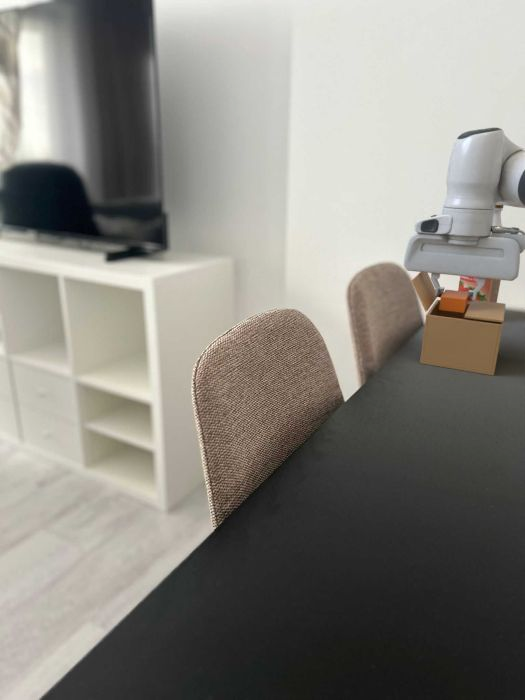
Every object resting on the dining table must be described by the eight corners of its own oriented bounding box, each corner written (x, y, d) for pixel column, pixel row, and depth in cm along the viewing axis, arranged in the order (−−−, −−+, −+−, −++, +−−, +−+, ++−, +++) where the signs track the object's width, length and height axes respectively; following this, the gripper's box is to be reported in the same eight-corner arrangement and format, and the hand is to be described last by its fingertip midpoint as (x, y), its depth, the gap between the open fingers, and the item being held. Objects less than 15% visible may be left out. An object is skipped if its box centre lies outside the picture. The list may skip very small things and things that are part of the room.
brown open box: (493, 375, 92) (503, 320, 89) (419, 363, 97) (426, 310, 94) (497, 353, 104) (506, 303, 101) (430, 343, 109) (437, 295, 106)
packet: (467, 305, 100) (469, 292, 100) (464, 313, 94) (466, 299, 94) (443, 302, 102) (445, 289, 101) (438, 309, 96) (440, 296, 95)
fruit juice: (501, 321, 127) (523, 204, 118) (467, 322, 125) (486, 203, 116) (479, 311, 136) (498, 201, 126) (447, 312, 134) (463, 201, 125)
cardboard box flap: (413, 279, 93) (411, 280, 94) (427, 311, 94) (425, 311, 94) (425, 268, 105) (423, 268, 105) (438, 296, 106) (436, 296, 106)
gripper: (529, 226, 92) (514, 302, 96) (412, 219, 100) (404, 289, 105) (529, 229, 86) (514, 309, 91) (406, 222, 95) (398, 295, 99)
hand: (454, 298), depth 98 cm, fingers closed on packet, 4 cm apart
